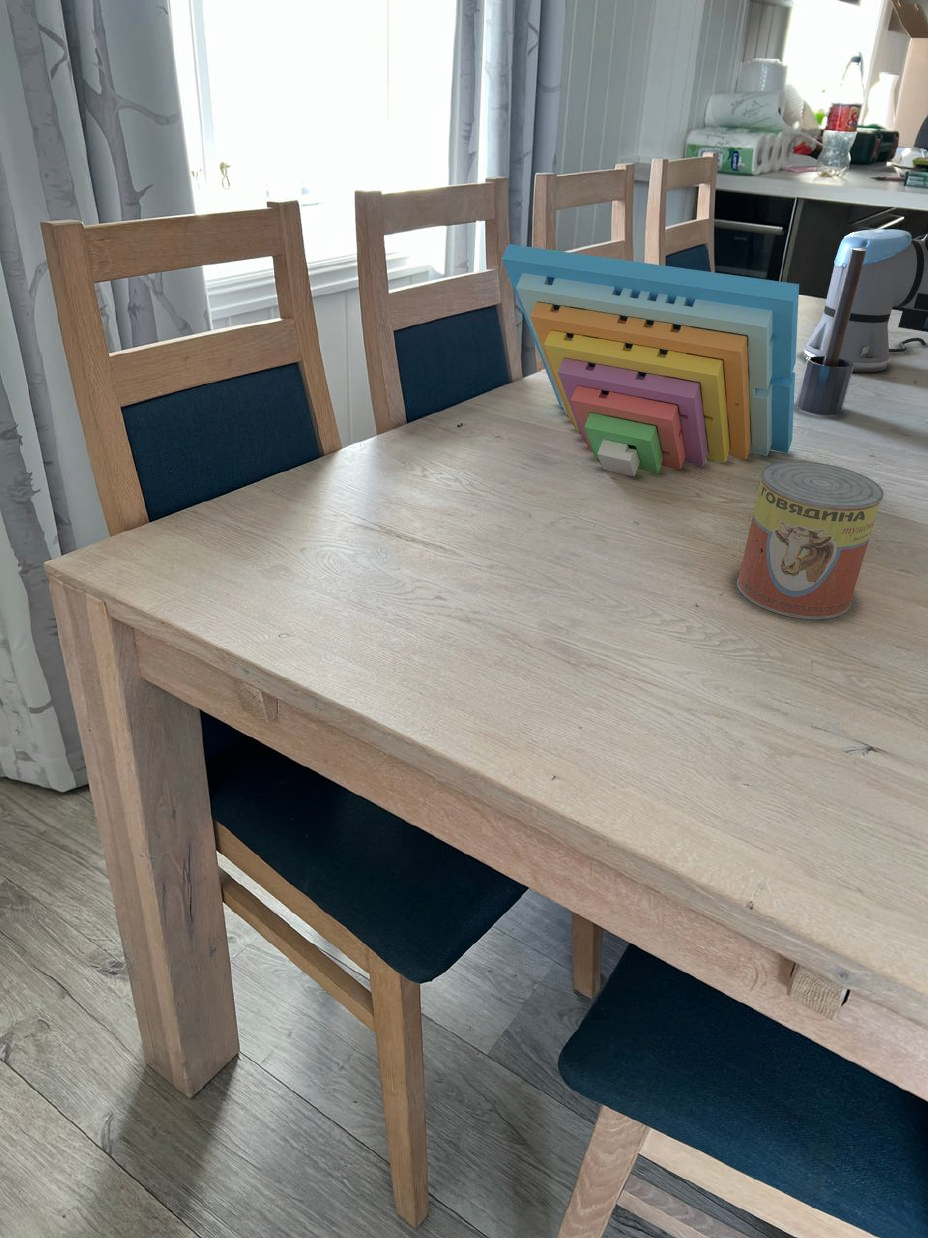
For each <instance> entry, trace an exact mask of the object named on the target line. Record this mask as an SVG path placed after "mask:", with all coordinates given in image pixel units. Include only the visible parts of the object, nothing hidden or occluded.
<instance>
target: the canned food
mask: <svg viewBox="0 0 928 1238" xmlns="http://www.w3.org/2000/svg"><path fill="white" fill-rule="evenodd" d="M884 495H885V492H884V490H883V488H882V487H881V486H880V484H878V483H877V482H876V481H874V480H873V479H871V478H869V477H868V476H866V475H863V474H861V473H860V472H856V471H853V470H851V469H848V468H844V467H840V466H837V465H832V464H828V463H821V462H814V461H813V462H812V461H801V460H800V461H799V460H794V461H781V462H780V461H779V462H776V463H772V464H769V465H767V466H765V467H764V468H763V469H762V471H761V474H760V482H759V487H758V491H757V495H756V501H755V505H754V509H753V512H752V518H751V521H750V527H749V531H748V536H747V540H746V544H745V548H744V553H743V557H742V562H741V565H740V570H739V575H738V576H737V580H736V586H737V588H738V590H739V592H740V593H741V595H743V597H744V598H746V599H747V600H748V601H749V602H751V603H753V604H754V605H755V606H758V607H759V608H762V609H764V610H766V611H769V612H772V613H774V614H778V615H781V616H785V617H789V618H794V619H800V620H813V621H814V620H828V619H833V618H837V617H840V616H842V615H844V614H846V613H847V612H848V611H849V610H850V608H851V606H852V599H853V595H854V592H855V589H856V585H857V581H858V578H859V575H860V572H861V568H862V565H863V562H864V558H865V555H866V551H867V548H868V546H869V542H870V538H871V534H872V532H873V528H874V525H875V521H876V518H877V515H878V511H879V508H880V505H881V501H882V500H883V498H884Z"/></svg>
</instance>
